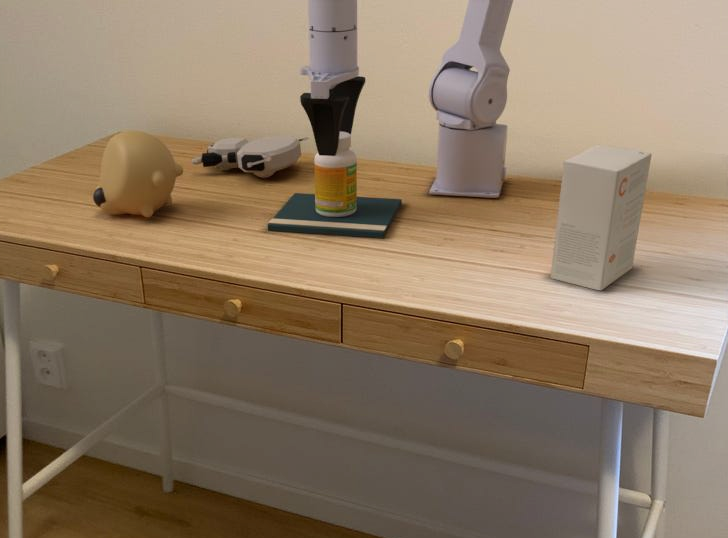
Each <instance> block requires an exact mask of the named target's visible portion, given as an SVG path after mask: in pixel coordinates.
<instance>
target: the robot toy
mask: <svg viewBox="0 0 728 538" xmlns="http://www.w3.org/2000/svg"><path fill="white" fill-rule="evenodd" d="M309 139H310V136H305V137H302V138H299V139H298V138H297V137H295V136H294V135H293V136H292V135H286V136H285V135H269V136H264V137H261V138H257V139H255V140H251V141H248V139H247V138H243V137H241V138H240V137H226V138H222V139H219V140H218V141H215V142H214V143H212V145H208V146H207V149H206V152H202V153H201V156H195V157H193V158H192V159H191V164H192V165H197V166H198V165H200V164H202V166H203V168H208V167H218V168H219V169H220V170H221V171H230V170H231V169H240V170H241V171H243V172H244V173H252V174H253V175H255V176H256V177H258V178H261V179H265V178H270V177H272V176H273V175H274V174H275V173H276V172H277V171H281V170H284V169H286V168H289V167H291V166H293V165H294V164H295V163H296V162H297V161H298V160H299V159H300V158H301V156H302V147H301V142H302V141H308V140H309Z"/></svg>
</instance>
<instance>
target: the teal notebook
mask: <svg viewBox="0 0 728 538" xmlns="http://www.w3.org/2000/svg"><path fill="white" fill-rule="evenodd" d="M402 205H403V199H401V198H388V197H387V198H386V197H371V196H369V197H368V196H357V209H356V211H355V213H353V214H352V215H349V216H345V217H325V216H322V215H320V214H318V213H317V212H316V207H315V193H304V192H303V193H301V192H300V193H299V192H294V193H293V195H291V197H290V198H289V199H288V201H286V203H284V205H283V206H282V207H281V208H280V209H279V210H278V212H277V213H276V214H275V216H273V217H272V218H271V219H270V220H269V221H268V222H267V231H268V232H269V231H270V232H285V233H297V234H298V233H299V234H314V235H329V236H342V237H343V236H344V237H358V238H372V239H384V238H385V236H386V234H387V233H388V231H389V229H390V226H391V225H392V224H393V221H394V219H395V218H396V216H397V215H398V212H399V211H400V209H401V208H402V207H401V206H402Z"/></svg>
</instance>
